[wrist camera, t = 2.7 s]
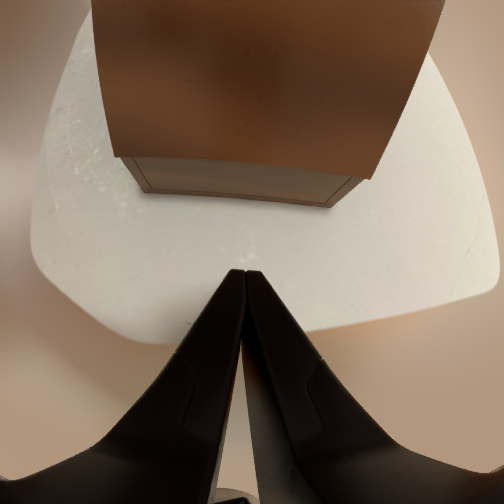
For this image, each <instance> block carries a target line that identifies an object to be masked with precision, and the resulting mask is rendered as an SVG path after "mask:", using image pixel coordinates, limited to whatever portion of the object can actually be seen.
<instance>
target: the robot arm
mask: <svg viewBox="0 0 504 504" xmlns="http://www.w3.org/2000/svg"><path fill="white" fill-rule="evenodd" d="M240 346H241V350H242V362H243V371H244V379H245V389H246V397H247V406H248V415H249V422H250V431H251V439H252V447H253V455H254V463H255V470H256V478H257V483H258V484H257V486H258V493H259V500H260V504H504V465H503V466H501V467H499V468H497V469H495V470H493V471H491V472H489V473H478V472H472V471H469V470H466V469H462V468H458V467H456V466H453V465H449V464H446V463H443V462H440V461H437V460H435V459H431V458H428V457H426V456H423V455H421V454H418V453H415V452H413V451H410V450H408V449H406V448H404V447H403V446H401V445H400V444H398V443H397V442H396V441H394V440H393V439H392V438H391V437H390V436H389V435H388V434H387V433H386V432H385V431H384V430H383V429H382V428H381V427H380V426H379V425H378V424H377V423H376V421H375V420H374V419H372V417H371V416H370V415H369V414H368V413H367V412H366V411H365V410H364V409H363V407H362V406H361V405H360V404H359V403H358V402H357V401H356V400H355V399H354V398H353V396H352V395H351V394H350V393H349V392H348V391H347V389H346V388H345V387H344V386H343V385H342V383H341V382H340V381H339V380H338V378H337V377H336V376H335V374H334V373H333V372H332V370H331V369H330V368H329V366H328V365H327V363H326V362H325V361H324V359H322V357H321V355H320V354H319V352H318V351H317V350H316V348H315V347H314V345H313V344H312V342H311V341H310V340H309V338H308V337H307V336H306V334H305V333H304V331H303V330H302V328H301V327H300V326H299V324H298V323H297V321H296V320H295V319H294V317H293V316H292V314H291V313H290V312H289V310H288V309H287V307H286V306H285V304H284V303H283V302H282V300H281V299H280V297H279V296H278V295H277V293H276V292H275V290H274V289H273V288H272V286H271V285H270V283H269V282H268V281H267V279H266V278H265V276H264V275H263V273H262V272H261V271H253V270H247V271H246V273H245V271H244V270H239V269H231V270H230V271H229V272H228V273H227V275H226V276H225V278H224V279H223V281H222V282H221V284H220V285H219V287H218V288H217V290H216V291H215V293H214V294H213V295H212V297H211V298H210V300H209V301H208V303H207V304H206V306H205V307H204V309H203V310H202V312H201V313H200V315H199V316H198V318H197V319H196V321H195V322H194V324H193V325H192V327H191V328H190V330H189V331H188V333H187V334H186V336H185V337H184V339H183V340H182V342H181V343H180V345H179V346H178V348H177V349H176V351H175V353H174V354H173V355H172V356H171V358H170V359H169V361H168V362H167V364H166V365H165V367H164V368H163V369H162V371H161V372H160V374H159V375H158V376H157V378H156V379H155V380H154V382H153V383H152V384H151V385H150V386H149V388H148V389H147V390H146V391H145V392H144V394H143V395H142V396H141V397H140V398H139V399H138V400H137V401H136V403H135V404H134V405H133V406H132V407H131V408H130V409H129V410H128V411H127V413H126V414H125V415H124V416H123V417H122V418H121V419H120V420H119V421H118V423H117V424H116V425H115V426H114V427H113V428H112V429H111V430H110V431H109V432H108V433H107V435H105V437H103V438H102V439H101V440H100V441H99V442H97V443H96V444H95V445H94V446H92V447H90V448H89V449H87V450H85V451H83V452H81V453H79V454H77V455H75V456H73V457H71V458H68V459H66V460H64V461H62V462H60V463H58V464H56V465H53V466H51V467H49V468H46V469H44V470H42V471H39V472H37V473H34V474H32V475H30V476H27V477H25V478H21V479H18V480H8V479H6V478H4V477H2V476H0V504H251V503H250V501H249V499H248V498H246V497H239V498H235V499H230V500H226V501H221V502H217V503H214V498H215V492H216V486H217V480H218V475H219V469H220V463H221V458H222V452H223V446H224V440H225V434H226V429H227V423H228V417H229V412H230V405H231V400H232V394H233V388H234V382H235V376H236V370H237V365H238V359H239V353H240ZM321 359H322V360H321ZM240 502H245V503H240Z"/></svg>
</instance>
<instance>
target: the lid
mask: <svg viewBox="0 0 504 504" xmlns="http://www.w3.org/2000/svg"><path fill="white" fill-rule="evenodd" d="M444 3H445V0H91V5H92V20H93V32H94V42H95V51H96V59H97V67H98V74H99V81H100V87H101V93H102V99H103V105H104V110H105V115H106V120H107V125H108V130H109V135H110V139H111V144H112V148H113V153H114V157H141V158H180V159H201V160H217V161H230V162H242V163H253V164H263V165H273V166H281V167H290V168H298V169H305V170H313V171H320V172H326V173H333V174H339V175H345V176H351V177H357V178H363V179H368V180H370V179H371V178H372V176H373V174H374V172H375V170H376V168H377V165H378V163H379V161H380V159H381V157H382V155H383V153H384V151H385V149H386V147H387V145H388V143H389V141H390V138H391V136H392V134H393V132H394V130H395V128H396V125H397V123H398V121H399V119H400V117H401V114H402V112H403V110H404V108H405V105H406V103H407V101H408V98H409V96H410V94H411V91H412V89H413V86H414V84H415V82H416V79H417V77H418V74H419V72H420V69H421V67H422V64H423V62H424V59H425V57H426V54H427V51H428V49H429V46H430V43H431V40H432V38H433V35H434V32H435V29H436V27H437V23H438V21H439V18H440V15H441V12H442V9H443V6H444Z"/></svg>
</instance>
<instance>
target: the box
mask: <svg viewBox="0 0 504 504" xmlns="http://www.w3.org/2000/svg"><path fill="white" fill-rule="evenodd" d="M120 158H121V160H122V161H123V163H124V164H125V166H126V167H127V168H128V170H129V171H130V173H131V174H132V176H133V177H134V179H135V180H136V181H137V183H138V184H139V186H140V187H141V188H142V190H143V192H144V193H165V194H184V195H200V196H215V197H228V198H241V199H252V200H263V201H274V202H284V203H293V204H302V205H311V206H320V207H328V208H331V207H333V206H334V205H335V204H336V203H337V202H338V201H340V200H341V199H342V198H343V197H344V196H345V195H347V194H348V193H349V192H350V191H351V190H352V189H353V188H355V187H356V186H357V185H358V184H359V183H360V182H362V181H363V180H364V179H363V178H357V177H351V176H345V175H339V174H333V173H326V172H320V171H313V170H305V169H298V168H290V167H281V166H273V165H263V164H253V163H242V162H230V161H217V160H201V159H180V158H141V157H120Z"/></svg>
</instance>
